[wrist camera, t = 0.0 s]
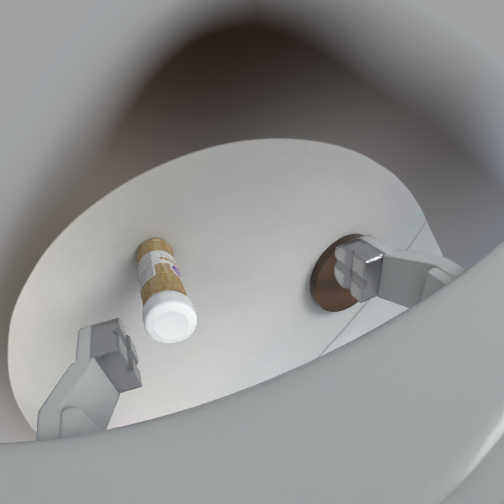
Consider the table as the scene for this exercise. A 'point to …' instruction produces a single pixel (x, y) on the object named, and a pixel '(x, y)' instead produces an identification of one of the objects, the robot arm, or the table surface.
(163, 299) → the sprinkles bottle
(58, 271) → the table surface
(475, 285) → the robot arm
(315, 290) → the disc
